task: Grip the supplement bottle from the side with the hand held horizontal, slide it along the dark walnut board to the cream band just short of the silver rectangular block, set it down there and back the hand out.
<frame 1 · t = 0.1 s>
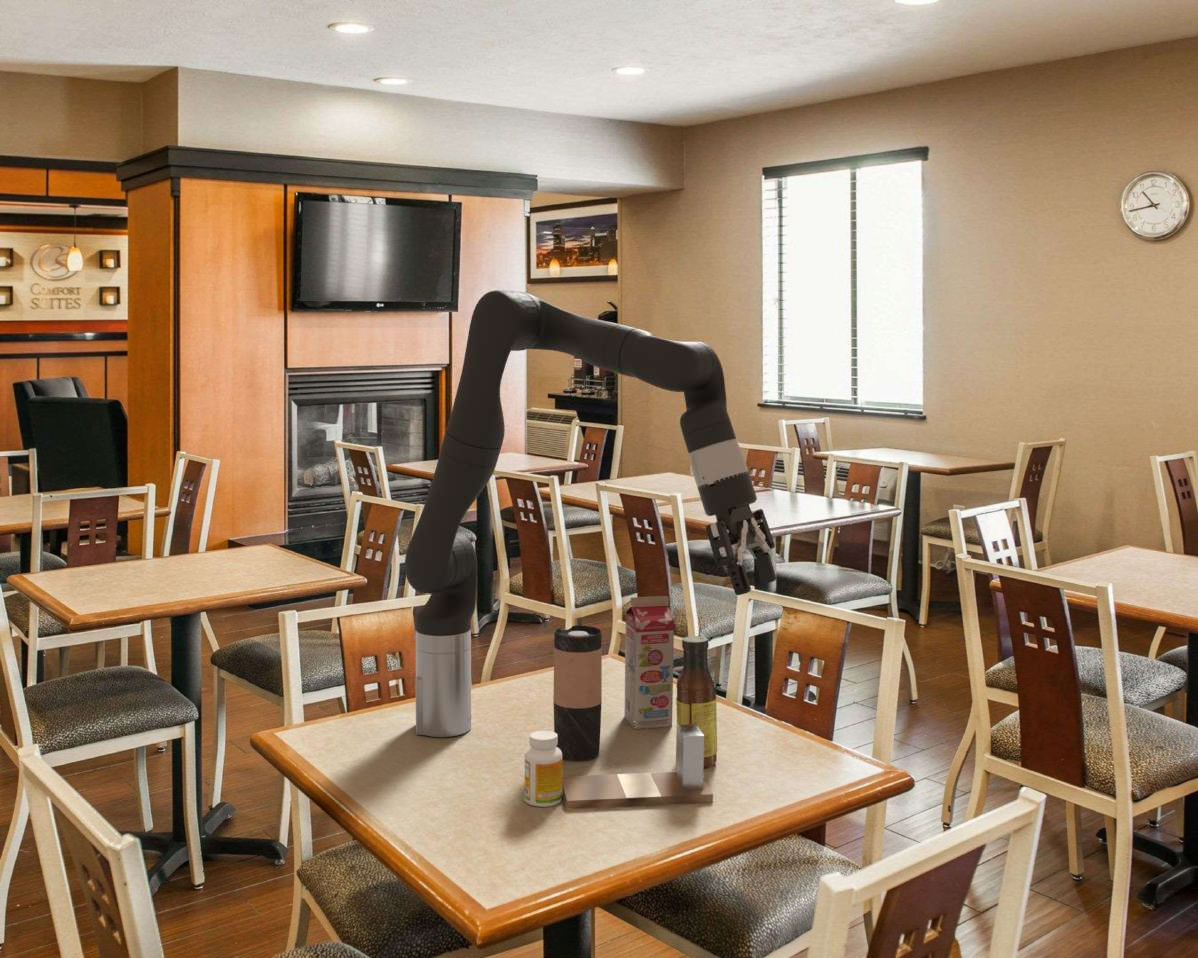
hand: (757, 587, 161), 31 cm above the table, tool tilted 20°, fingers open, 8 cm apart
travel mug: (577, 754, 184), on the table
supplement bottle: (543, 801, 165), on the table
sauce bottle: (695, 763, 180), on the table
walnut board: (635, 793, 168), on the table
juice carton: (647, 722, 200), on the table
silver rectangular block: (688, 790, 169), resting on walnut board
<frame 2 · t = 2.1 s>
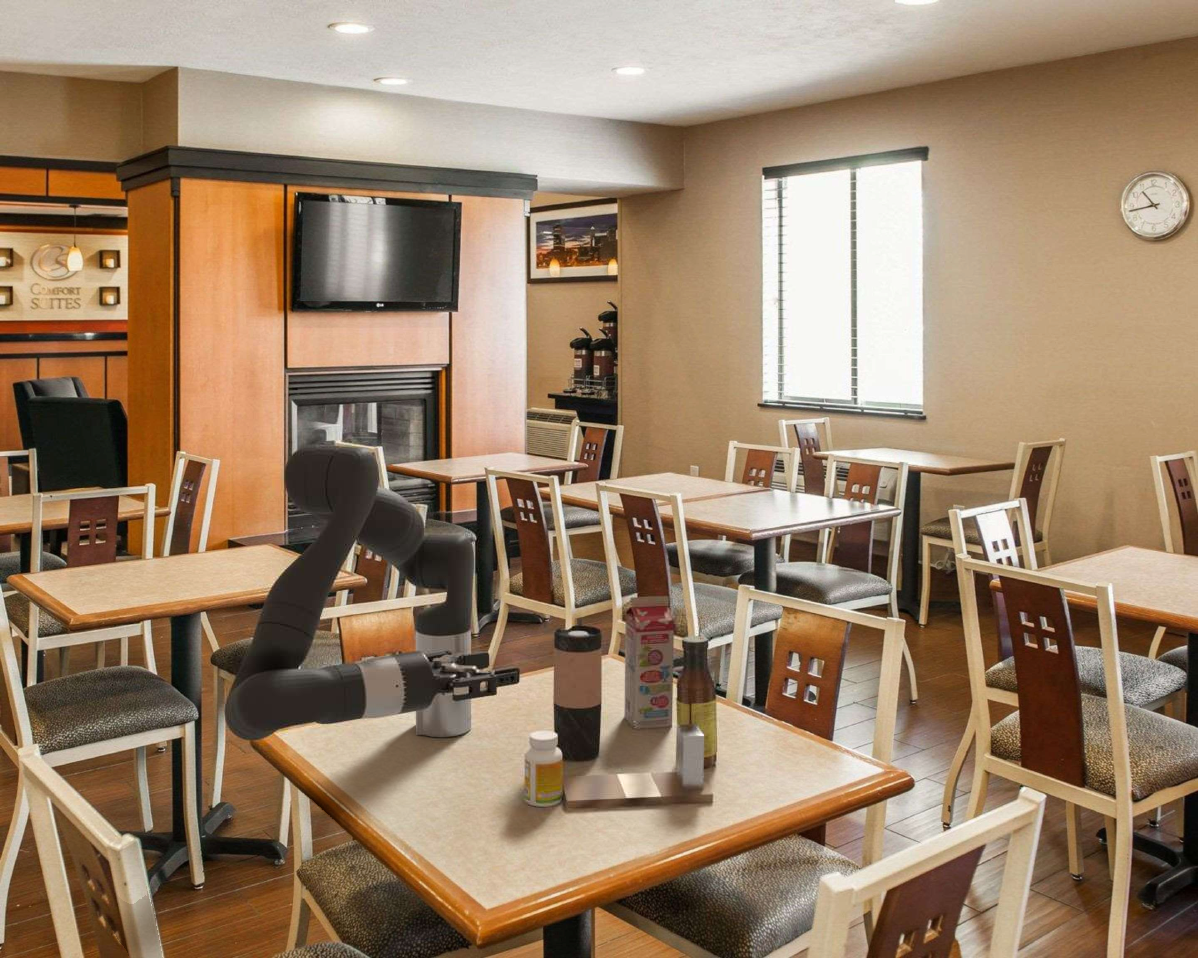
hand: (502, 666, 155), 22 cm above the table, tool horizontal, fingers open, 8 cm apart
nothing on the table moved.
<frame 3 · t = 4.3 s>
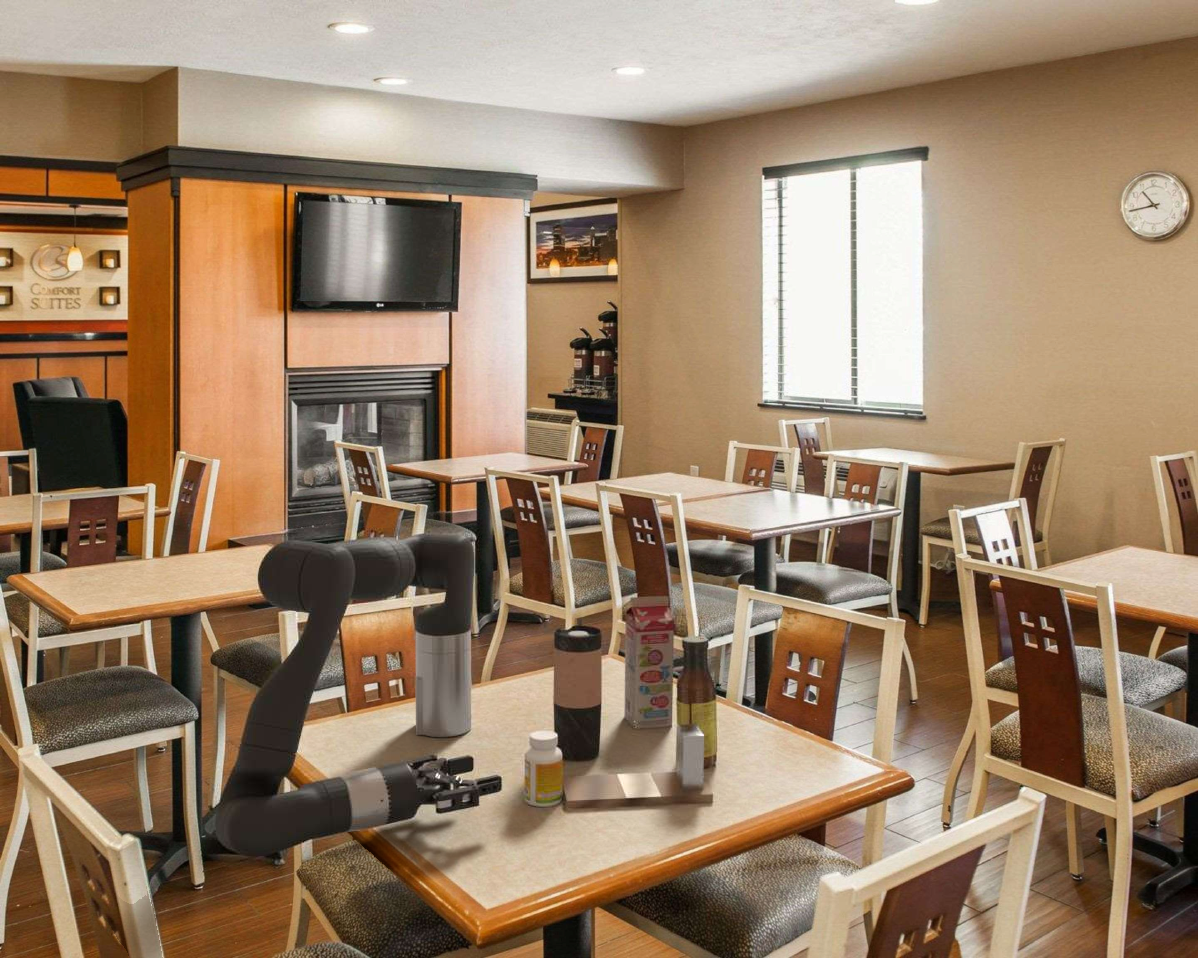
hand: (486, 772, 160), 6 cm above the table, tool horizontal, fingers open, 8 cm apart
nothing on the table moved.
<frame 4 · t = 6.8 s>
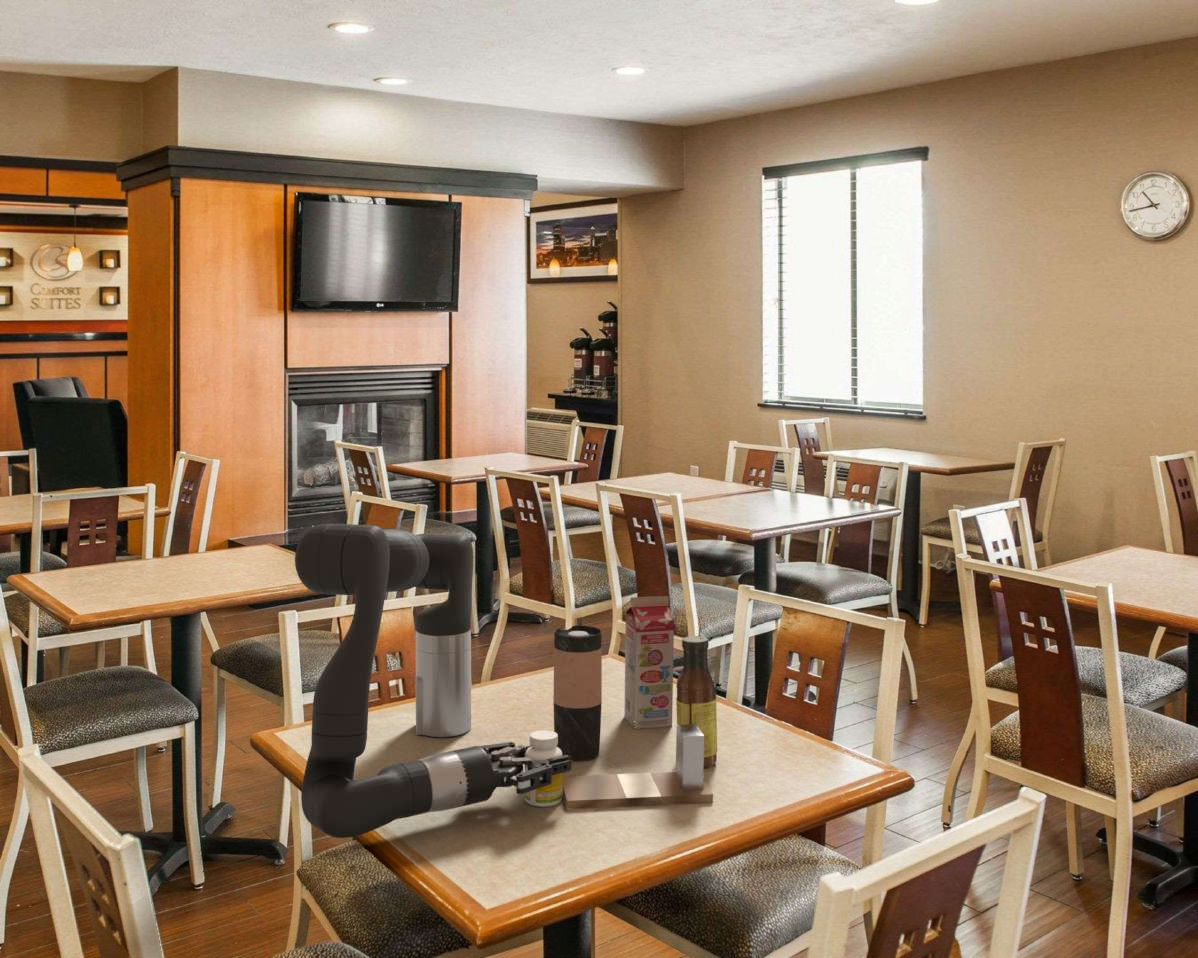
hand: (558, 756, 166), 6 cm above the table, tool horizontal, fingers closed on supplement bottle, 5 cm apart
supplement bottle: (543, 801, 165), on the table, touching gripper
everything else where it was.
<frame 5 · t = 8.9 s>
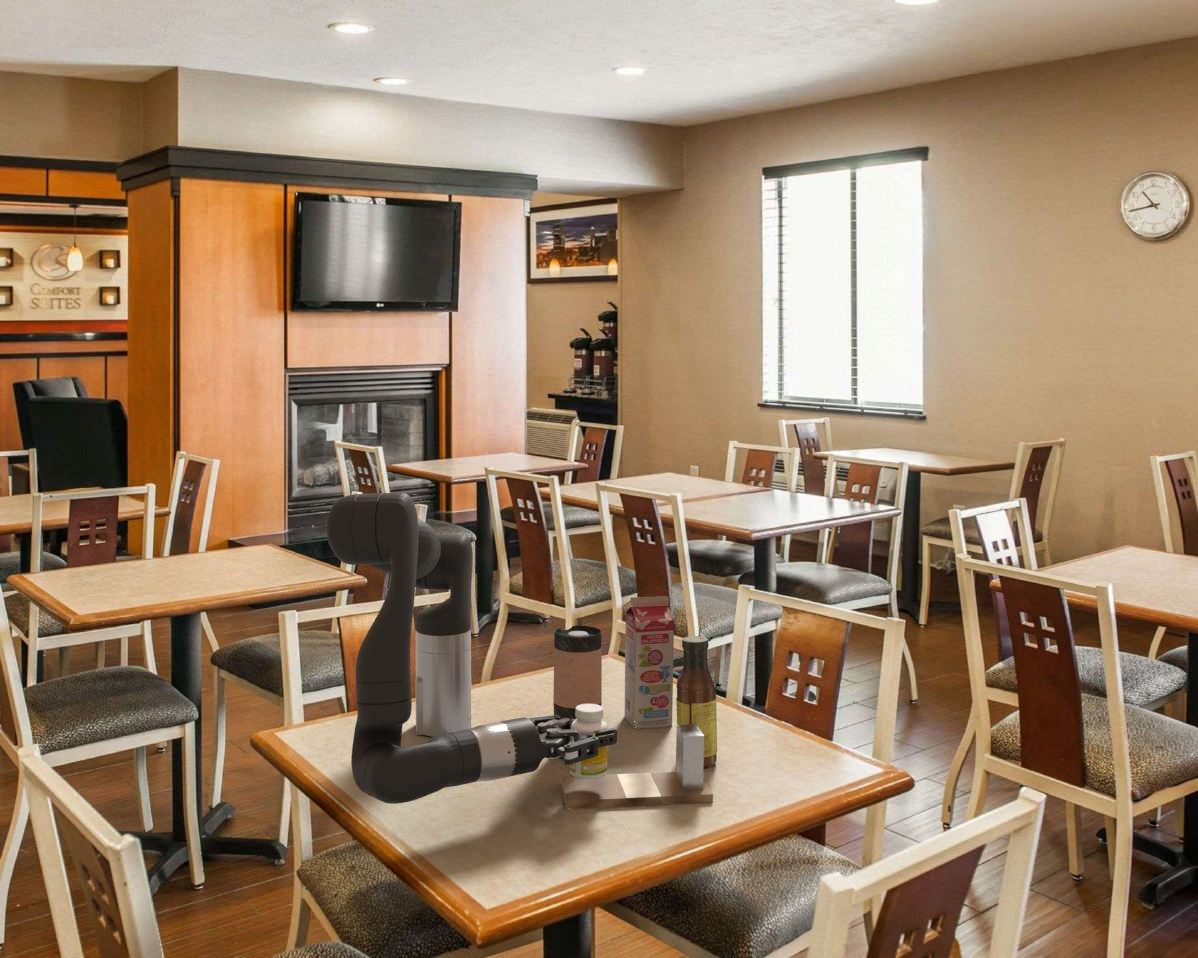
hand: (603, 729, 167), 10 cm above the table, tool horizontal, fingers closed on supplement bottle, 5 cm apart
supplement bottle: (588, 774, 166), point 3 cm above the table, touching gripper
everything else where it was.
when the fingers open (7 cm above the table, at t = 11.1 s): supplement bottle stays where it is, resting on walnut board.
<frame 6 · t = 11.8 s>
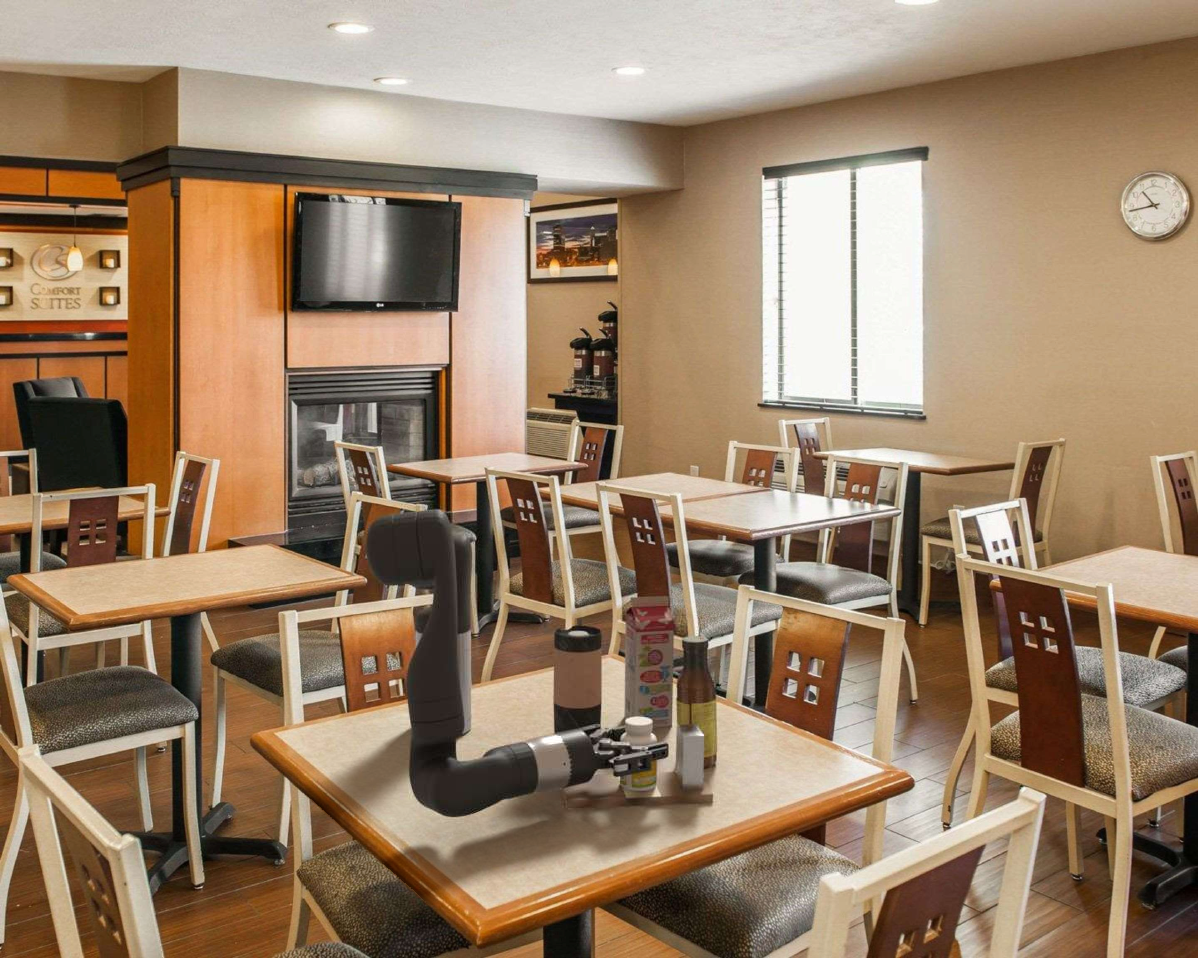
hand: (649, 740, 168), 8 cm above the table, tool horizontal, fingers open, 8 cm apart
supplement bottle: (638, 786, 168), point 1 cm above the table, touching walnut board
everything else where it was.
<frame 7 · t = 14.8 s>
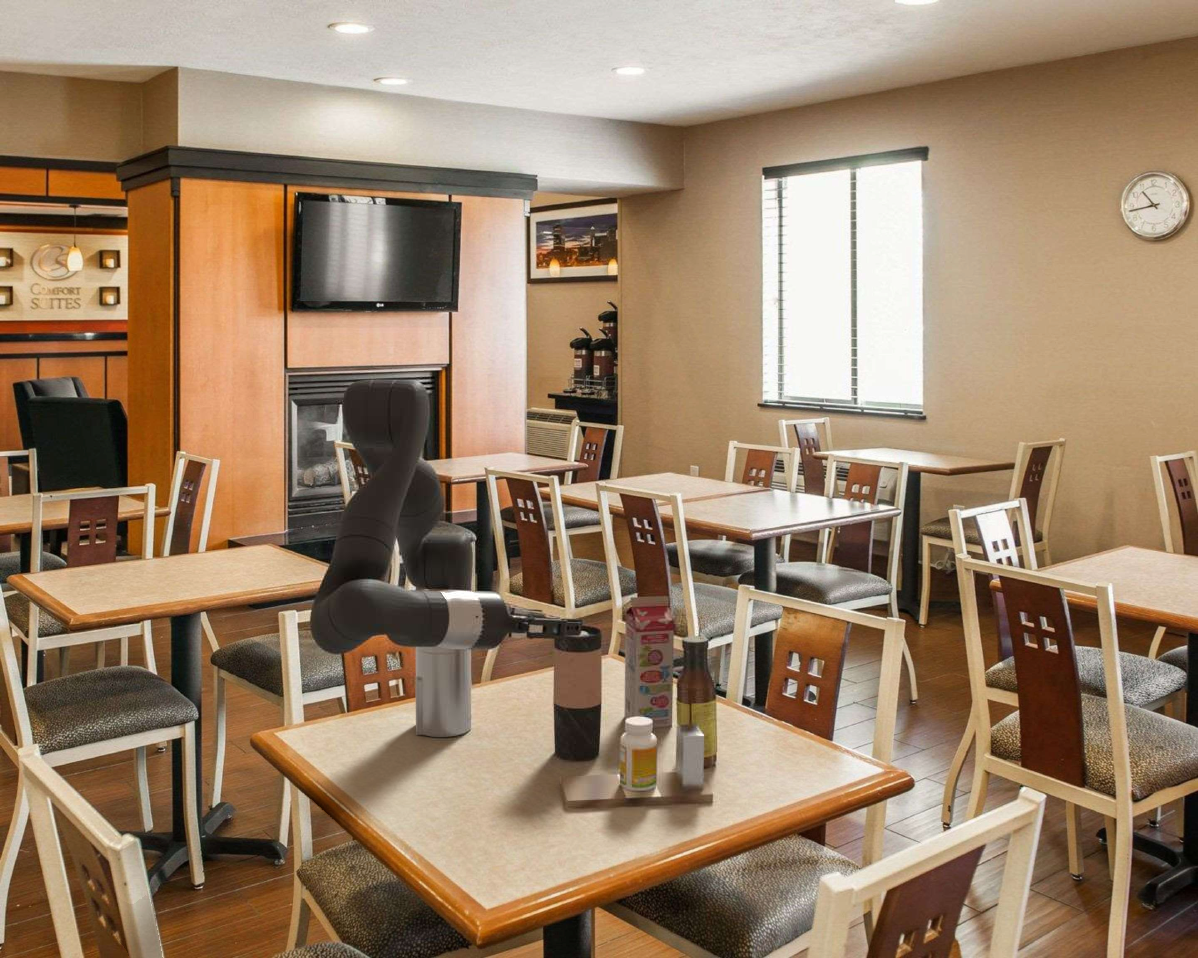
hand: (560, 622, 159), 27 cm above the table, tool horizontal, fingers open, 8 cm apart
nothing on the table moved.
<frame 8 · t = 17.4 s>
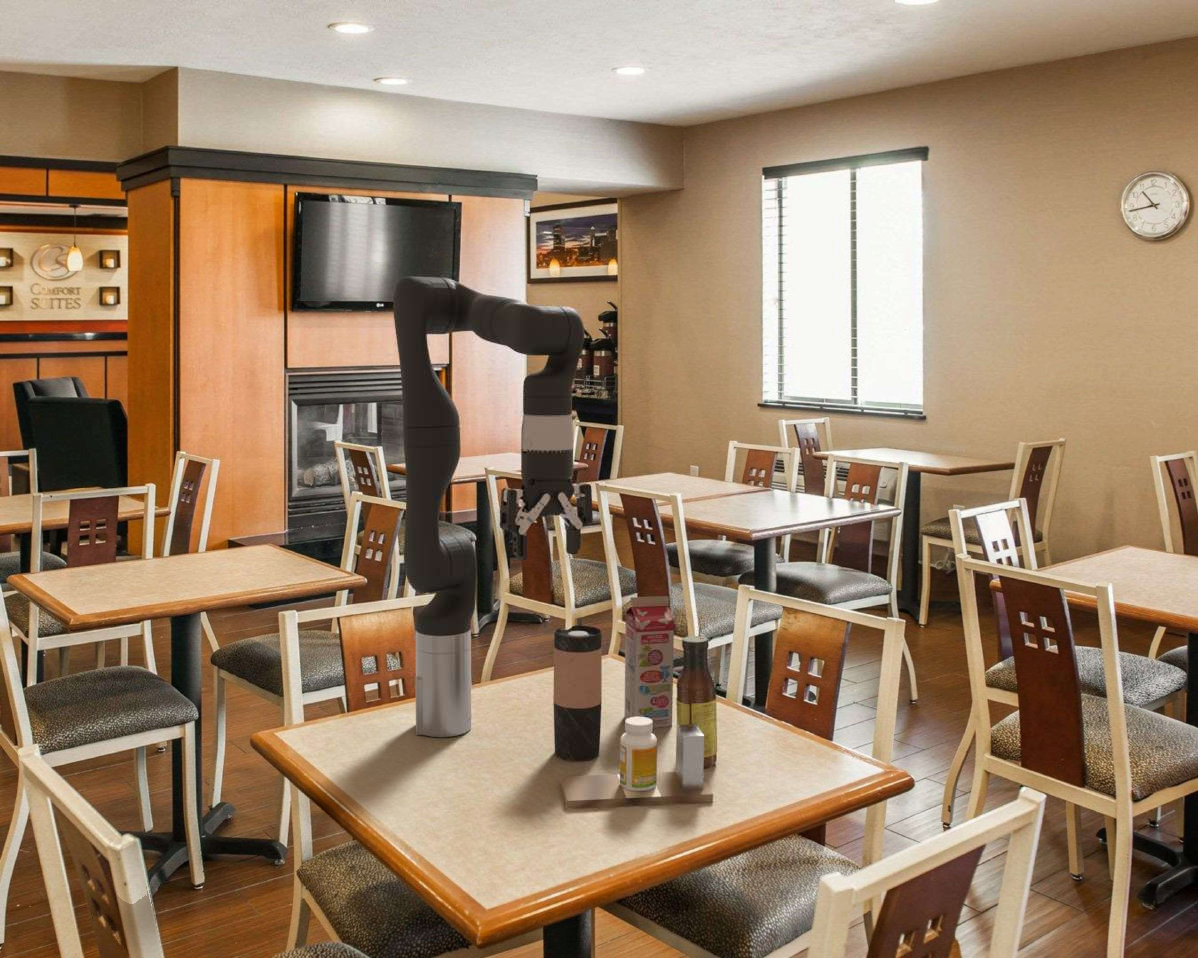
hand: (546, 556, 168), 34 cm above the table, tool pointing down, fingers open, 8 cm apart
nothing on the table moved.
at the end: supplement bottle inside the target area (0.1 cm from its centre), point 1.0 cm above the table; supplement bottle tilted 0°; the gripper is holding nothing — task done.
